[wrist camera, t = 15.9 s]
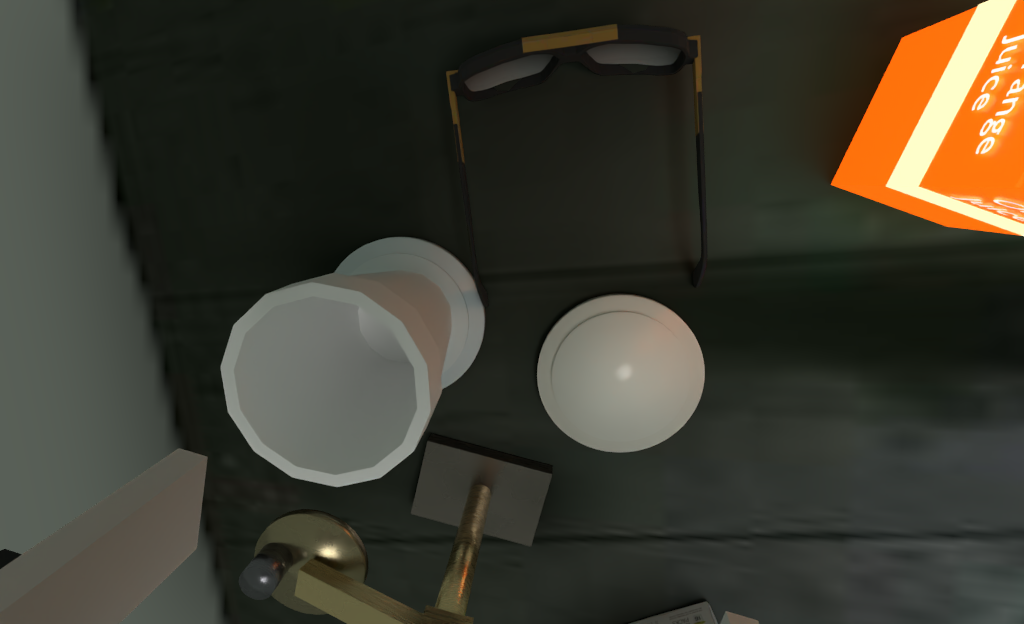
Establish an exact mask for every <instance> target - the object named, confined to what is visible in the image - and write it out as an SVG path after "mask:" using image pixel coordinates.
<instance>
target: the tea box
mask: <svg viewBox="0 0 1024 624" xmlns="http://www.w3.org/2000/svg"><path fill="white" fill-rule="evenodd" d="M630 624H718V623H717V620H716V618H715V616H714V613H713V611H712V609H711V607H710V605H709V603H708V602H707V601H705V602H702V603H699V604H695V605H692V606H688V607H684V608H681V609H677V610H673V611H670V612H667V613H663V614H660V615H656V616H653V617H649V618H646V619H643V620H640V621H637V622H633V623H630Z"/></svg>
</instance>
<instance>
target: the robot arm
mask: <svg viewBox="0 0 1024 624" xmlns="http://www.w3.org/2000/svg"><path fill="white" fill-rule="evenodd" d="M206 465H207V457H206V456H203V455H199V454H196V453H193V452H189V451H186V450H183V449H177V450H176V451H174V452H173V453H171V454H170V455H168V456H167V457H165V458H164V459H162V460H161V461H159V462H158V463H157V464H155V465H154V466H152V467H151V468H149V469H148V470H146V471H145V472H143V473H142V474H140V475H139V476H137V477H136V478H134V479H133V480H131V481H130V482H129V483H127V484H125V485H124V486H123V487H121V488H120V489H118V490H117V491H115V492H114V493H112V494H111V495H109V496H108V497H106V498H105V499H103V500H102V501H100V502H99V503H98V504H96V505H94V506H93V507H91V508H90V509H89V510H87V511H86V512H84V513H83V514H81V515H80V516H78V517H77V518H75V519H74V520H72V521H71V522H69V523H68V524H66V525H65V526H63V527H62V528H61V529H59V530H58V531H56V532H55V533H53V534H52V535H50V536H49V537H47V538H46V539H44V540H43V541H41V542H40V543H38V544H37V545H35V546H34V547H33V548H31V549H29V550H28V551H27V552H25V553H24V554H19V553H16V552H13V551H9V550H6V549H4V550H1V551H0V624H119V623H120V622H121V621H122V620H123V619H124V618H126V617H127V616H128V615H129V614H130V613H131V612H132V611H133V610H134V609H135V608H136V607H137V606H138V605H139V604H140V603H141V602H142V601H143V600H144V599H145V598H146V597H147V596H148V595H149V594H150V593H151V592H152V591H153V590H154V589H155V588H156V587H157V586H159V585H160V584H161V582H162V581H164V579H166V578H167V577H168V576H169V575H170V574H171V572H173V571H174V570H175V569H176V568H177V567H178V566H179V565H180V564H181V563H182V562H183V561H184V560H185V559H186V558H187V557H188V556H189V555H190V554H191V553H192V552H194V551H195V550H196V548H197V542H198V533H199V525H200V516H201V508H202V499H203V491H204V482H205V474H206ZM720 624H759V622H758V620H754V619H751V618H748V617H744V616H741V615H737V614H734V613H731V612H727V611H726V612H725V614H724V616H723V619H722V621H721V623H720Z"/></svg>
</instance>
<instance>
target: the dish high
mask: <svg viewBox="0 0 1024 624" xmlns="http://www.w3.org/2000/svg"><path fill="white" fill-rule="evenodd" d="M704 378H705V369H704V361H703V356H702V352H701V349H700V346H699V344H698V342H697V340H696V338H695V336H694V334H693V333H692V331H691V330H690V328H689V327H688V326H687V325H686V324H685V323H684V321H683V320H682V319H681V318H680V317H679V316H678V315H677V314H676V313H674V312H673V311H672V310H671V309H669V308H668V307H666V306H665V305H663V304H661V303H659V302H657V301H655V300H653V299H650V298H647V297H644V296H639V295H634V294H622V293H619V294H608V295H602V296H598V297H595V298H592V299H589V300H586V301H584V302H582V303H580V304H578V305H577V306H575V307H573V308H572V309H570V310H569V311H568V312H567V313H565V314H564V315H563V316H562V317H561V318H560V319H559V320H558V321H557V322H556V323H555V324H554V326H553V327H552V329H551V330H550V331H549V333H548V335H547V337H546V339H545V340H544V342H543V345H542V348H541V351H540V355H539V360H538V368H537V382H538V389H539V394H540V397H541V400H542V403H543V405H544V407H545V409H546V411H547V413H548V415H549V416H550V417H551V419H552V420H553V422H554V423H555V424H556V425H557V426H558V427H559V428H560V429H561V430H562V431H563V432H564V433H566V434H567V435H568V436H569V437H571V438H572V439H574V440H576V441H577V442H579V443H581V444H583V445H586V446H588V447H591V448H594V449H597V450H602V451H607V452H632V451H638V450H642V449H646V448H649V447H652V446H654V445H656V444H659V443H661V442H662V441H664V440H666V439H668V438H669V437H670V436H672V435H673V434H674V433H676V432H677V431H678V430H679V429H680V428H681V427H682V426H683V425H684V424H685V423H686V422H687V421H688V419H689V418H690V417H691V415H692V414H693V412H694V410H695V409H696V407H697V405H698V402H699V400H700V398H701V394H702V390H703V386H704Z"/></svg>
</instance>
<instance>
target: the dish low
mask: <svg viewBox="0 0 1024 624" xmlns="http://www.w3.org/2000/svg"><path fill="white" fill-rule="evenodd" d="M395 270H403V271H409V272H414V273H419V274H423V275H424V276H425V277H427V278H428V279H430V280H431V281H432V282H434V283H435V284H436V285H438V286H439V287H440V288H441V290H442V292H443V293H444V295H445V297H446V299H447V300H448V302H449V304H450V306H451V319H452V330H451V335H450V339H449V344H448V348H447V352H446V357H445V361H444V366H443V370H442V375H441V384H442V389H443V388H445V387H447V386H449V385H450V384H452V383H453V382H455V381H456V380H457V379H458V378H460V377H461V376H462V375H463V374H464V373H465V371H466V370H467V369H468V368H469V367H470V365H471V364H472V362H473V361H474V359H475V357H476V355H477V353H478V351H479V349H480V346H481V343H482V340H483V337H484V331H485V318H486V317H485V307H484V306H483V304H482V302H481V300H480V297H479V294H478V292H477V289H476V285H475V280H474V277H473V276H472V274H471V273H470V272H469V270H468V269H467V268H466V266H465V265H464V264H463V263H462V262H461V261H460V260H459V259H458V258H457V257H455V256H454V255H453V254H452V253H451V252H449V251H447V250H446V249H444V248H443V247H441V246H439V245H437V244H435V243H433V242H430V241H427V240H424V239H420V238H414V237H403V236H399V237H389V238H384V239H380V240H377V241H374V242H371V243H369V244H366V245H364V246H362V247H360V248H359V249H357V250H356V251H354V252H353V253H351V254H350V255H349V256H348V257H347V258H346V259H345V260H344V261H343V262H342V263H341V264H340V265H339V267H338V268H337V269H336V271H335V272H334V273H337V274H342V275H347V276H349V275H358V274H367V273H376V272H386V271H395Z"/></svg>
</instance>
